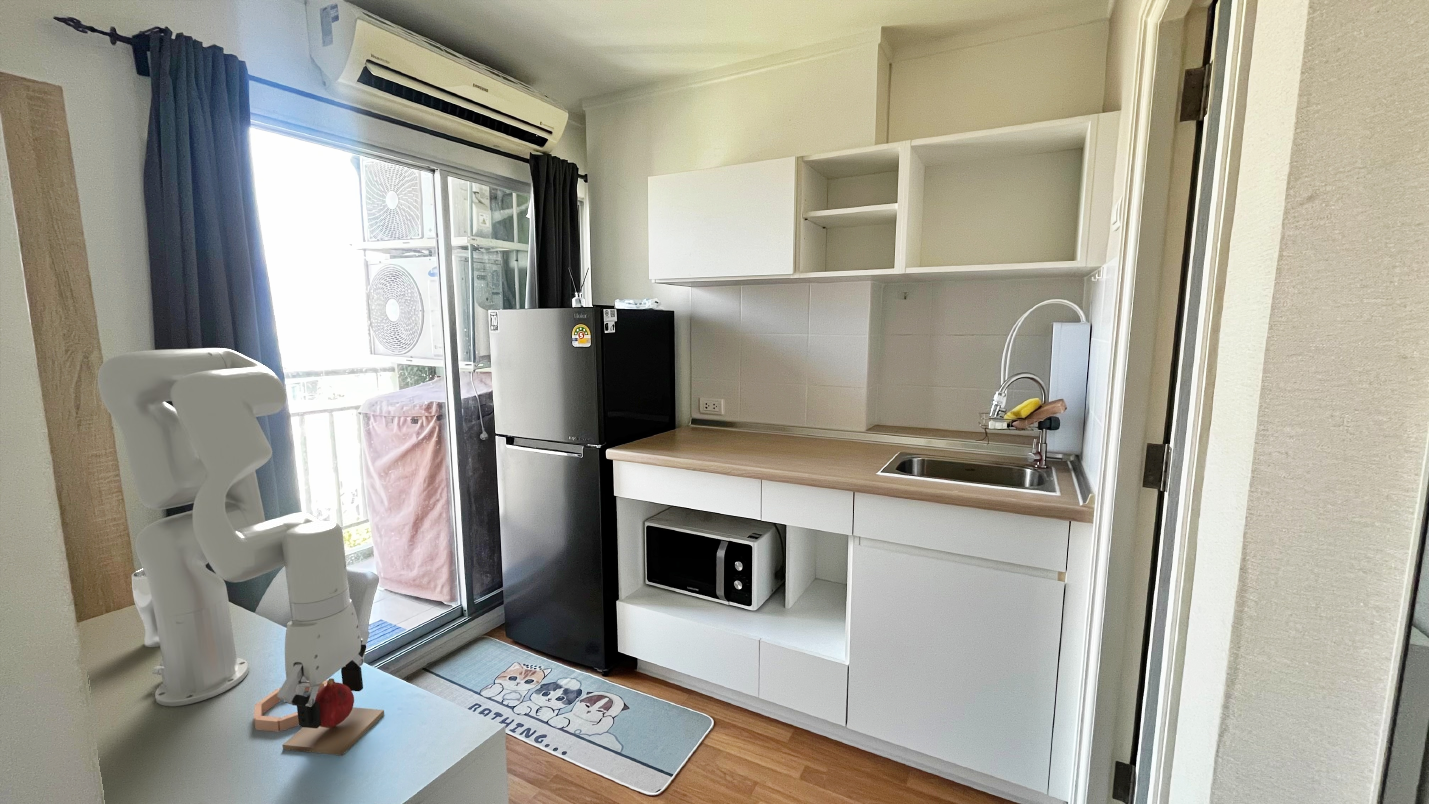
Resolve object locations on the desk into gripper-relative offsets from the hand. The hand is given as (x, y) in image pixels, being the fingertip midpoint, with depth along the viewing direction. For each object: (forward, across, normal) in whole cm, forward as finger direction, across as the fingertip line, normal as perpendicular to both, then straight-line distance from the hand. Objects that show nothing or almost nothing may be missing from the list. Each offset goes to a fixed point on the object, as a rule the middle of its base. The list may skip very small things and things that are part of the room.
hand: (332, 706), depth 90 cm
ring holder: (+4, -4, -11) cm, 12 cm away
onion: (+4, 0, 0) cm, 4 cm away
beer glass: (+4, -20, -56) cm, 60 cm away
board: (+4, 0, 0) cm, 4 cm away
